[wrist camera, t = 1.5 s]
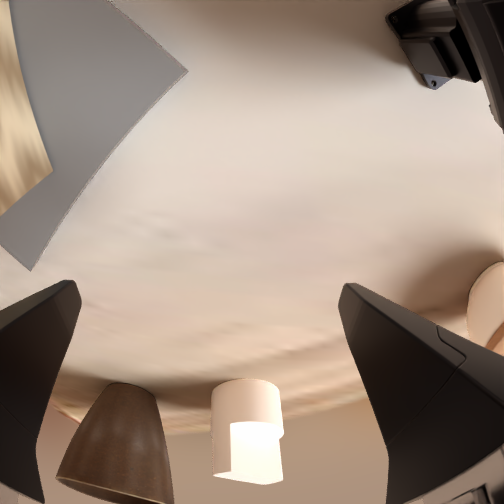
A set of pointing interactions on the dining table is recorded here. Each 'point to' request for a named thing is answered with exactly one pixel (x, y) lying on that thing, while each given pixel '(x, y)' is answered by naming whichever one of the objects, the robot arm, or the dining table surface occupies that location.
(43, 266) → the dining table surface
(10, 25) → the ash link
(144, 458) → the plant pot
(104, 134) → the slate board
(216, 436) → the cream cylindrical piece
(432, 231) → the dining table surface
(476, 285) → the lidded bowl
